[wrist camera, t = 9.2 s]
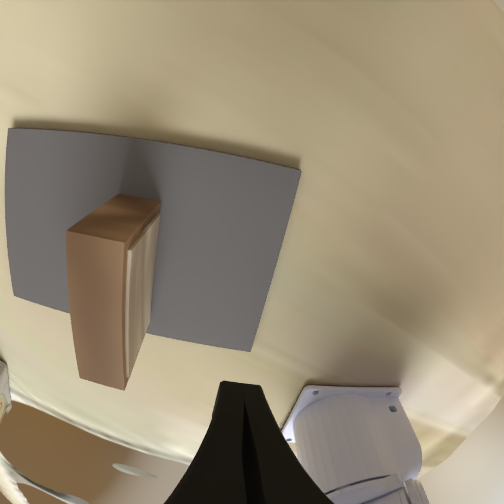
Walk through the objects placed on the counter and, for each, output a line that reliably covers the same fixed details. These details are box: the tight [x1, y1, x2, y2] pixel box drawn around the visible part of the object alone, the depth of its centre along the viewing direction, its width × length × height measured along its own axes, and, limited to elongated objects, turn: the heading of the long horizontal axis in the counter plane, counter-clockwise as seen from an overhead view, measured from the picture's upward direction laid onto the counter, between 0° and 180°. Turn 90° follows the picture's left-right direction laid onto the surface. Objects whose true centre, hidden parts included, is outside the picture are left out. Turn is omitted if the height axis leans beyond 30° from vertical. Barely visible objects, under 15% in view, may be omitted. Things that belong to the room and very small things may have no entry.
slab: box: [66, 194, 161, 391], centre depth 15 cm, size 3×8×6 cm, turn 167°
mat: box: [5, 128, 302, 352], centre depth 17 cm, size 18×12×1 cm, turn 77°
